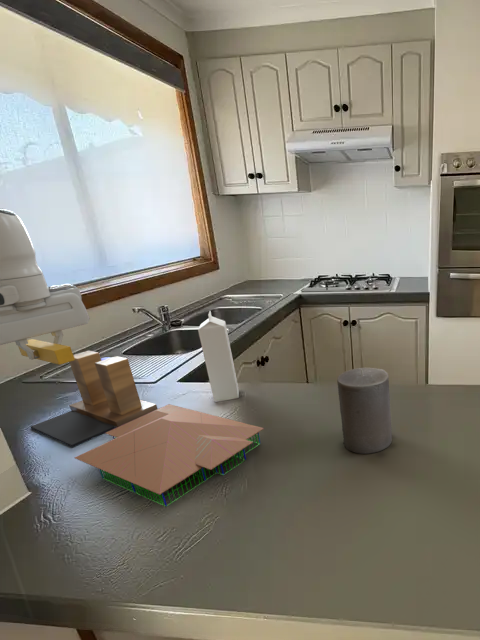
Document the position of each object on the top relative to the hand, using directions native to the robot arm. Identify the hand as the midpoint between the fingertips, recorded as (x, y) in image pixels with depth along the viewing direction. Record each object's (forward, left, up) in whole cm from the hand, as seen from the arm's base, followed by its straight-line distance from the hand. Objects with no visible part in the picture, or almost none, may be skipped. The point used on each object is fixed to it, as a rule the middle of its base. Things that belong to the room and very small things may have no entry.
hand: (46, 355), depth 91 cm
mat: (0, 0, -18) cm, 18 cm away
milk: (+28, -20, -18) cm, 39 cm away
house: (+3, -34, -18) cm, 39 cm away
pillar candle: (+24, -66, -18) cm, 72 cm away
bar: (0, 0, -1) cm, 1 cm away
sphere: (+22, +25, -18) cm, 38 cm away
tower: (+10, +1, -18) cm, 21 cm away
